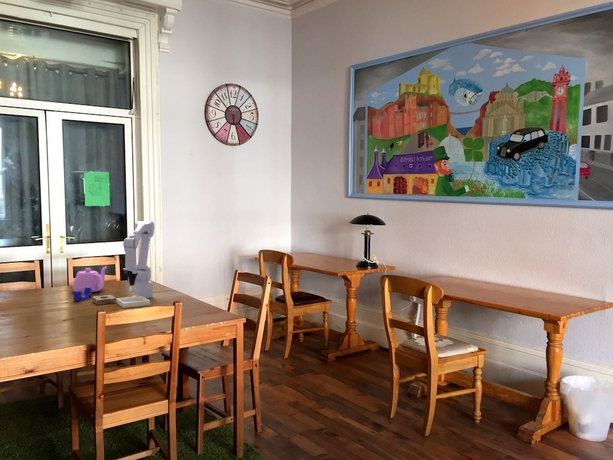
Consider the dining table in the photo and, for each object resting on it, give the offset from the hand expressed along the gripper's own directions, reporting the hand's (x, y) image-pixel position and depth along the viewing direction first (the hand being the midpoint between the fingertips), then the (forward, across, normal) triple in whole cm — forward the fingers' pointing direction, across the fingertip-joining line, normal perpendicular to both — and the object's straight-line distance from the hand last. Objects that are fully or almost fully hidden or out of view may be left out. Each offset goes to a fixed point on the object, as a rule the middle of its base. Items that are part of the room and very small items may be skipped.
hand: (131, 284), depth 290 cm
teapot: (+11, -47, -11) cm, 49 cm away
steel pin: (+3, 0, 0) cm, 3 cm away
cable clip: (+11, -25, -21) cm, 34 cm away
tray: (+10, +1, +1) cm, 10 cm away
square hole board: (+10, -12, -11) cm, 20 cm away
